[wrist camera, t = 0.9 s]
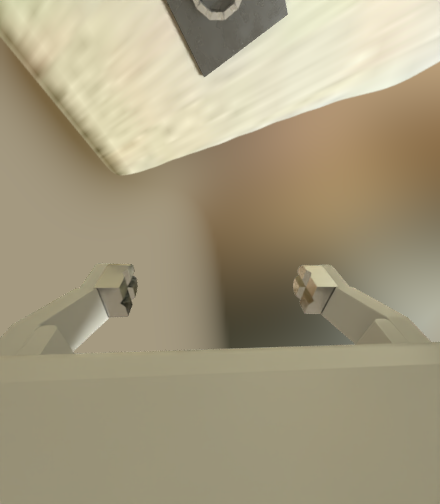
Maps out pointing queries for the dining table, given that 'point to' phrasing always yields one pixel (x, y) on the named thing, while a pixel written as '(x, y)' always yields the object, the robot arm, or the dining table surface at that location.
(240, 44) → the mount plate
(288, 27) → the dining table surface
